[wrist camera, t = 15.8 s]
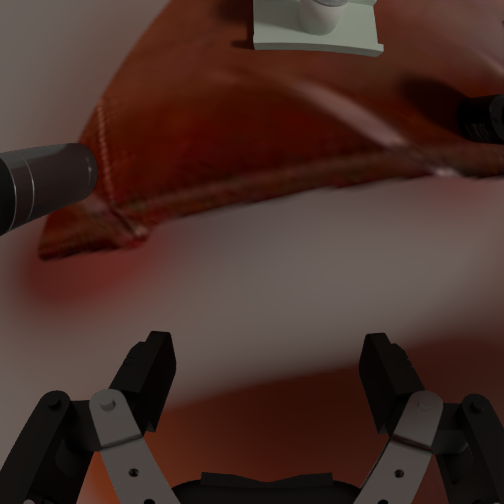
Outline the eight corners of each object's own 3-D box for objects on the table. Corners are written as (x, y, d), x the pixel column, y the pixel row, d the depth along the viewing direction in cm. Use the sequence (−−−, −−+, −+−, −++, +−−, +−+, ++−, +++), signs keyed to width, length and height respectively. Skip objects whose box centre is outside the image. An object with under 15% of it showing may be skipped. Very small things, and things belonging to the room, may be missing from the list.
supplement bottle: (490, 140, 32) (541, 147, 21) (460, 144, 33) (512, 150, 22) (482, 97, 30) (533, 93, 19) (450, 98, 31) (501, 91, 20)
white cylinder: (298, 34, 30) (305, 2, 20) (296, 4, 28) (301, -33, 19) (337, 37, 29) (356, 7, 20) (334, 6, 28) (350, -29, 18)
